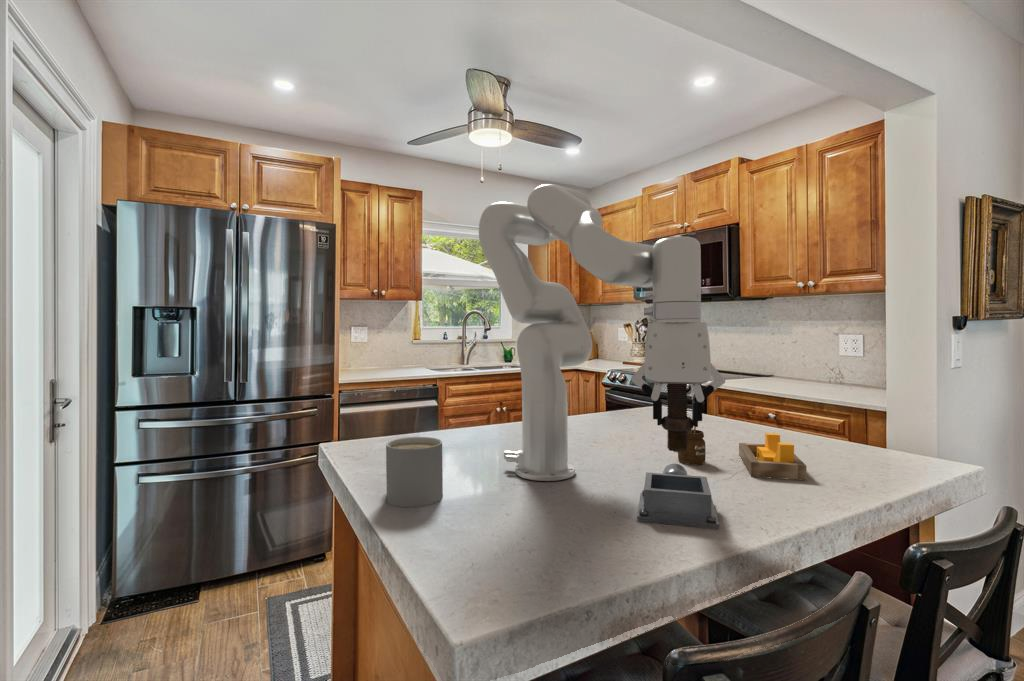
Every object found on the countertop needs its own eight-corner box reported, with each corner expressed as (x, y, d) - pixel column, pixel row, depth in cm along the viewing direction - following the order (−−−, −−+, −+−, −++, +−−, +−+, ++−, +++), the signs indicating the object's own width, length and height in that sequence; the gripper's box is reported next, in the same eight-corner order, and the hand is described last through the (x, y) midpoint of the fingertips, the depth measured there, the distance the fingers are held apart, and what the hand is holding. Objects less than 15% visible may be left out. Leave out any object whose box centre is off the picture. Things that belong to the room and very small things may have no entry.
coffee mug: (449, 502, 89) (449, 445, 89) (393, 510, 85) (392, 451, 85) (429, 481, 101) (428, 431, 101) (378, 488, 97) (377, 436, 97)
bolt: (656, 447, 86) (655, 358, 85) (684, 446, 86) (684, 358, 86) (669, 455, 80) (668, 360, 80) (700, 454, 80) (699, 360, 80)
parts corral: (751, 476, 103) (751, 462, 103) (738, 455, 120) (738, 442, 120) (806, 480, 100) (806, 465, 100) (785, 458, 117) (785, 445, 117)
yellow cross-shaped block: (756, 460, 116) (756, 432, 116) (777, 461, 115) (777, 433, 115) (770, 475, 105) (771, 444, 104) (793, 476, 104) (794, 445, 103)
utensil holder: (673, 462, 114) (673, 409, 114) (684, 457, 119) (684, 406, 119) (699, 467, 110) (699, 412, 110) (709, 461, 115) (709, 408, 115)
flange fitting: (637, 521, 79) (637, 490, 79) (642, 486, 97) (642, 461, 97) (719, 529, 76) (719, 497, 76) (708, 491, 94) (709, 465, 94)
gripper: (621, 314, 82) (622, 426, 82) (736, 312, 77) (736, 431, 77) (625, 315, 89) (626, 419, 89) (730, 313, 84) (730, 423, 84)
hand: (677, 423), depth 83 cm, fingers closed on bolt, 4 cm apart
